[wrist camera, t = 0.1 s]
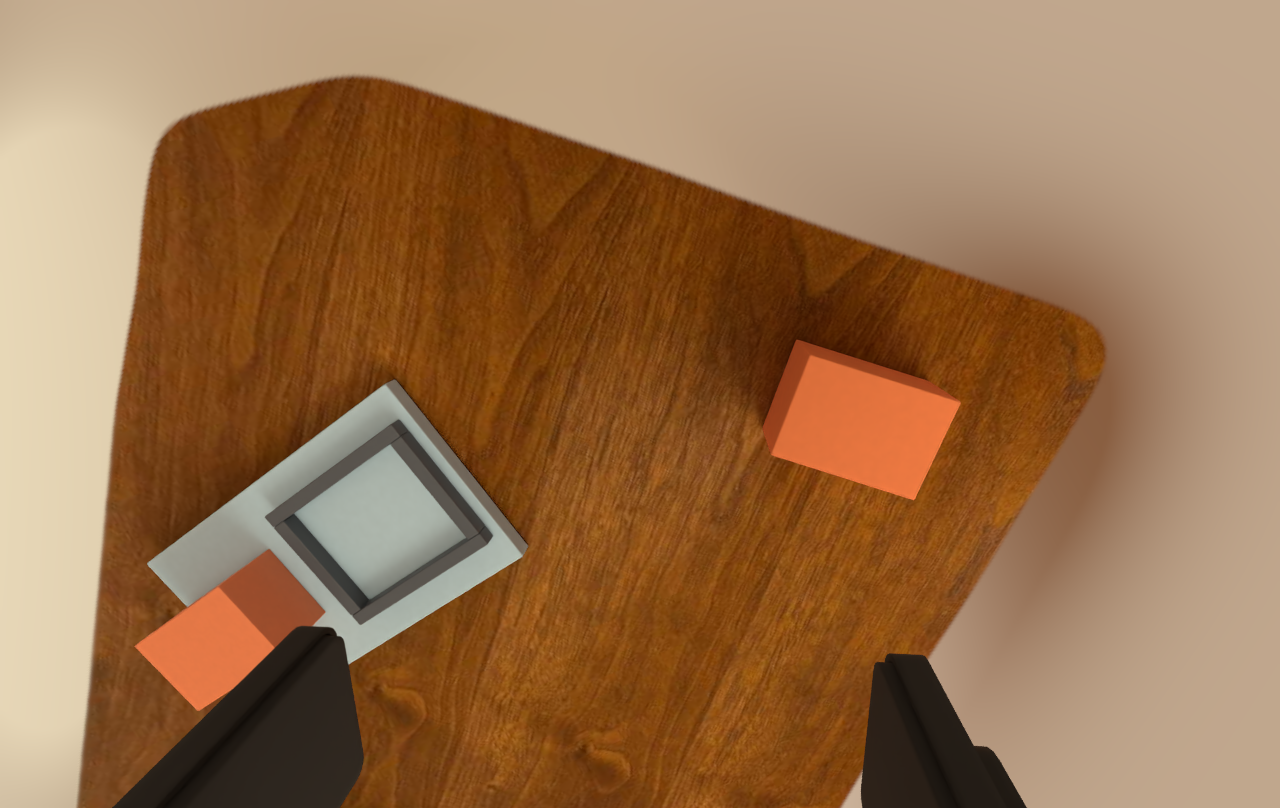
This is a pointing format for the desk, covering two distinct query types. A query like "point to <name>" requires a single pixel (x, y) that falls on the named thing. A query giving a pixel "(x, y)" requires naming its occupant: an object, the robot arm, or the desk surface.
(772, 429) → the orange rectangular block
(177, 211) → the desk surface
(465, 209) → the desk surface
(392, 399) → the gray fixture board
